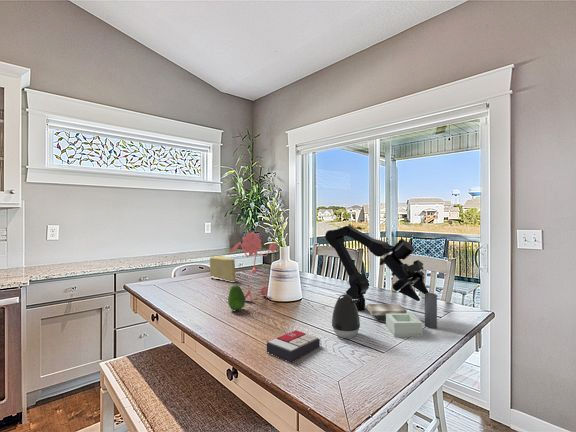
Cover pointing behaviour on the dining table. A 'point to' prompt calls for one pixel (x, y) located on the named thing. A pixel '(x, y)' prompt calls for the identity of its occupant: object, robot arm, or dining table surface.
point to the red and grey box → (293, 345)
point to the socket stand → (403, 325)
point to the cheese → (222, 267)
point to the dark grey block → (430, 310)
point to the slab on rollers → (384, 310)
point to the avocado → (236, 298)
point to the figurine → (251, 246)
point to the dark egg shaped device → (346, 317)
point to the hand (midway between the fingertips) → (424, 298)
